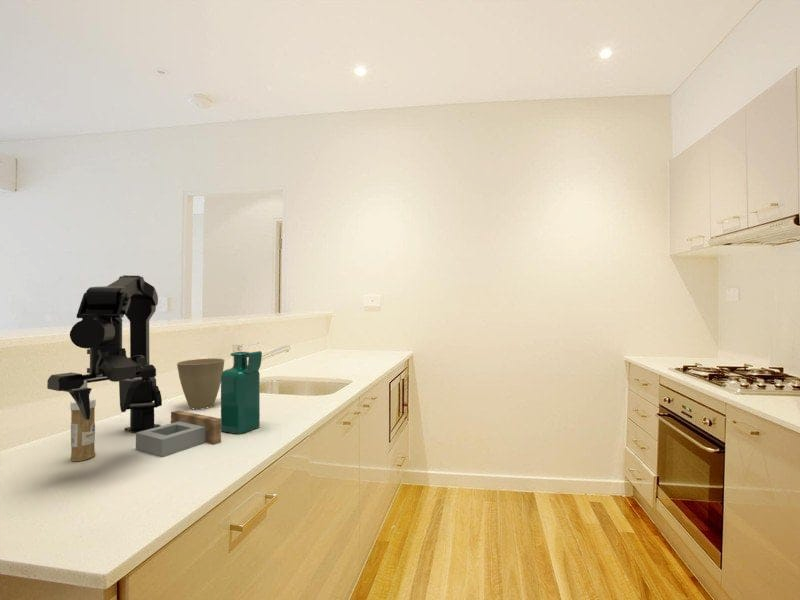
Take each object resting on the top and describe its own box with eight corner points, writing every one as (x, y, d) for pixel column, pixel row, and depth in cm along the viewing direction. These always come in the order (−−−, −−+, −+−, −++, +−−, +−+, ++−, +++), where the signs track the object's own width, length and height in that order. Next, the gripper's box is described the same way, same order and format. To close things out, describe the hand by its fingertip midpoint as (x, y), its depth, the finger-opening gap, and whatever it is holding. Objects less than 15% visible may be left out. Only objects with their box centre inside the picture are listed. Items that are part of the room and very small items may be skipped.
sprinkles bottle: (94, 459, 91) (94, 400, 91) (68, 463, 88) (68, 403, 88) (96, 453, 95) (96, 396, 95) (71, 457, 92) (71, 399, 92)
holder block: (135, 449, 97) (135, 432, 97) (179, 436, 107) (179, 421, 107) (162, 456, 92) (162, 439, 92) (205, 442, 101) (205, 426, 101)
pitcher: (217, 431, 110) (217, 352, 111) (240, 423, 118) (240, 349, 119) (244, 435, 107) (244, 353, 107) (266, 426, 114) (266, 350, 115)
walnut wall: (170, 434, 108) (170, 412, 109) (178, 432, 110) (178, 410, 110) (213, 444, 100) (213, 420, 100) (220, 442, 102) (220, 418, 102)
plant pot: (194, 401, 146) (194, 358, 147) (232, 402, 145) (232, 358, 145) (166, 412, 132) (166, 364, 132) (209, 413, 130) (209, 364, 130)
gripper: (73, 350, 75) (72, 433, 75) (170, 342, 91) (170, 410, 91) (46, 347, 80) (45, 425, 80) (142, 340, 97) (142, 404, 96)
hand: (105, 415), depth 87 cm, fingers open, 7 cm apart
